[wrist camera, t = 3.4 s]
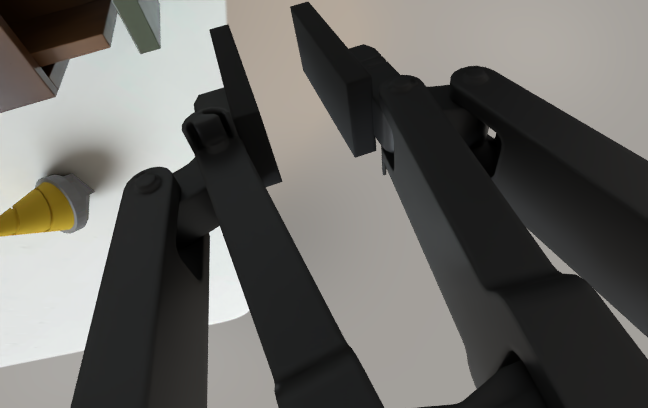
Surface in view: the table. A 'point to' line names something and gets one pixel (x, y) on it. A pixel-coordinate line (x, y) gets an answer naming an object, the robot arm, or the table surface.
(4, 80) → the cabinet
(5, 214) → the drill bit
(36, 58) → the drawer
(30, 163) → the table surface
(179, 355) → the robot arm
